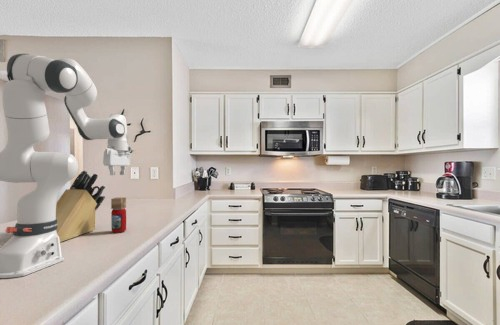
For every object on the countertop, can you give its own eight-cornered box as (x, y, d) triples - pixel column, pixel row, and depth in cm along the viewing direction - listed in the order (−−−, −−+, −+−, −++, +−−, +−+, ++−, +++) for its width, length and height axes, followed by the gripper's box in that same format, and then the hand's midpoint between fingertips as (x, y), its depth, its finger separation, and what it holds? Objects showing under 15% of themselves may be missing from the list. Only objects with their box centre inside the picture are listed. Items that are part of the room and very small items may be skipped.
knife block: (107, 226, 155) (107, 169, 155) (55, 245, 120) (55, 172, 120) (88, 225, 156) (88, 169, 156) (32, 244, 122) (31, 172, 121)
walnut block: (121, 208, 140) (121, 198, 140) (111, 208, 140) (111, 198, 140) (126, 207, 145) (126, 197, 145) (116, 207, 145) (116, 197, 145)
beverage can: (108, 232, 141) (108, 208, 141) (120, 229, 147) (120, 206, 147) (117, 234, 138) (117, 209, 138) (129, 231, 144) (129, 207, 144)
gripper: (112, 145, 130) (112, 175, 130) (132, 148, 151) (132, 174, 150) (99, 145, 130) (99, 175, 130) (121, 148, 151) (121, 174, 151)
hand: (117, 175), depth 140 cm, fingers open, 8 cm apart
